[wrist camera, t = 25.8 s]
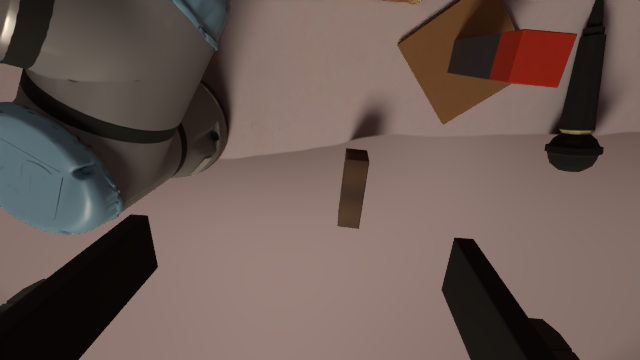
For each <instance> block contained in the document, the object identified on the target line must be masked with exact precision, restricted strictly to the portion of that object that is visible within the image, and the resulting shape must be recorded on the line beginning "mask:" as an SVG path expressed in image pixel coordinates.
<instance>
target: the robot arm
mask: <svg viewBox="0 0 640 360" xmlns="http://www.w3.org/2000/svg"><path fill="white" fill-rule="evenodd" d="M229 13H230V1H229V0H0V62H1V63H5V64H9V65H12V66H16V67H20V68H23V71H22V75H21V80H20V83H19V87H18V92H17V96H16V98H15V100H14V101H13V102H0V207H2V208H3V209H4V210H5V211H7V212H8V213H10V214H11V215H13V216H14V217H16V218H17V219H19V220H21V221H23V222H24V223H26V224H28V225H31V226H33V227H35V228H37V229H40V230H43V231H46V232H51V233H55V234H67V235H68V234H72V233H74V234H75V233H76V234H81V233H85V232H88V231H90V230H93V229H95V228H96V227H98V226H100V225H102V224H104V223H106V222H108V221H111V220H113V219H115V218H116V217H118V216H119V214H120V213H121V212H123V211H124V210H126V209H127V208H128V207H130V206H131V205H133V204H134V203H136V202H137V201H138V200H140V199H141V198H143V197H144V196H145V195H147V194H148V193H150V192H151V191H152V190H154V189H155V188H157V187H158V186H160V185H161V184H163V183H164V182H165V181H167V180H168V179H170V178H177V177H186V176H191V175H195V174H198V173H200V172H202V171H204V170H205V169H207V168H209V167H210V166H211V165H212V164H213V163H215V162H216V161H217V160H218V159H219V157H220V156H221V154H222V153H223V151H224V149H225V146H226V143H227V138H228V123H227V117H226V114H225V111H224V108H223V106H222V104H221V102H220V100H219V99H218V97H217V96H216V94H215V93H214V92H213V90H212V89H211V88H210V87H209V86H208V85H207V84H206V83H205V82H203V81H202V80H201V78H202V76H203V74H204V72H205V70H206V68H207V66H208V64H209V61H210V59H211V57H212V55H213V53H214V51H217V50H218V48H219V45H218V41H219V39H220V36H221V34H222V31H223V29H224V26H225V24H226V22H227V19H228V17H229ZM157 267H158V265H157V260H156V255H155V250H154V245H153V240H152V235H151V230H150V225H149V220H148V216H145V215H129V216H128V217H127V218H125V219H124V220H123V221H121V222H120V223H119V224H118V225H116V226H115V227H114V228H112V229H111V230H110V231H108V232H107V233H106V234H105V235H103V236H102V237H101V238H99V239H98V240H97V241H95V242H94V243H93V244H91V245H90V246H89V247H88V248H86V249H85V250H84V251H82V252H81V253H80V254H78V255H77V256H76V257H74V258H73V259H72V260H71V261H69V262H68V263H67V264H65V265H64V266H63V267H62V268H60V269H59V270H58V271H56V272H55V273H54V274H53V275H51V276H50V277H48V278H47V279H42V280H40V281H38V282H36V283H34V284H32V285H30V286H28V287H26V288H24V289H23V290H21V291H20V292H19V293H17V294H16V295H14V296H13V297H12V298H10V299H9V300H8V301H7V303H6V304H2V305H1V306H0V360H79V359H80V357H81V356H82V355H83V354H84V353H85V352H86V350H87V349H88V348H89V347H90V346H91V345H92V343H93V342H94V341H95V340H96V339H97V337H98V336H99V335H100V334H101V333H102V332H103V331H104V329H105V328H106V327H107V326H108V325H109V324H110V322H111V321H112V320H113V319H114V318H115V317H116V315H117V314H118V313H119V312H120V311H121V309H122V308H123V307H124V306H125V305H126V304H127V302H128V301H129V300H130V299H131V298H132V297H133V296H134V294H135V293H136V292H137V291H138V290H139V289H140V287H141V286H142V285H143V284H144V283H145V282H146V280H147V279H148V278H149V277H150V276H151V275H152V273H153V272H154V271H155V270H156V269H157ZM442 292H443V294H444V297H445V299H446V302H447V304H448V306H449V309H450V311H451V314H452V316H453V318H454V321H455V323H456V326H457V328H458V330H459V333H460V335H461V338H462V340H463V342H464V345H465V347H466V349H467V352H468V354H469V357H470V359H471V360H579V358H578V357H577V356H576V354H575V353H574V352H572V349H571V348H570V346H569V345H568V344H567V343H566V341H565V340H564V339H563V337H562V336H561V335H560V334H559V333H558V332H557V331H556V330H555V329H554V328H552V327H551V326H550V325H549V324H547V323H546V322H545V321H544V320H543V319H534V318H528V317H527V315H526V314H525V312H524V311H523V310H522V308H521V307H520V305H519V304H518V302H517V301H516V300H515V298H514V297H513V295H512V294H511V292H510V291H509V290H508V288H507V287H506V285H505V284H504V282H503V281H502V280H501V278H500V277H499V275H498V274H497V272H496V271H495V270H494V268H493V267H492V265H491V264H490V262H489V261H488V259H487V258H486V257H485V255H484V254H483V252H482V251H481V250H480V248H479V247H478V245H477V244H476V242H475V241H474V240H473V239H465V238H454V241H453V245H452V250H451V254H450V258H449V262H448V266H447V270H446V274H445V278H444V282H443V286H442Z"/></svg>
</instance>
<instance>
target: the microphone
mask: <svg viewBox="0 0 640 360" xmlns="http://www.w3.org/2000/svg"><path fill="white" fill-rule="evenodd" d="M603 17H604V0H596V1H595V4H594V7H593V10H592V12H591V15H590V18H589V22H588V27H587V28H586V29H584V30H583V36H582V37H581V38H580V41H579V45H578V49H577V53H576V58H575V62H574V66H573V70H572V75H571V79H570V83H569V87H568V92H567V96H566V100H565V104H564V109H563V113H562V117H561V121H560V126H559V130H560V131H561V134H559V135H557V136H556V137H554V138H553V139H552V140H551V142H550V143H549V144H546V145H545V151H547V154H548V159H549V162H550V163H551V164H552V165H553V166H554V167H556V168H557V169H558V170H563V171H569V172H580V171H583V170H585V169H587V168H589V167H591V166H593V164H594V163H595V161H596V160H597V158H598V156H599V155H602V154H603V147H600V145H599V143H598V140H597V139H595V138H594V137H593V136H592V135H591V133H592V132H593V131H594V130H595V125H596V117H597V109H598V100H599V92H600V84H601V75H602V67H603V59H604V50H605V42H606V34H604V33H605V27H604V26H602V25H603Z"/></svg>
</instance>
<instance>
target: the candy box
mask: <svg viewBox="0 0 640 360" xmlns="http://www.w3.org/2000/svg"><path fill="white" fill-rule="evenodd" d="M383 1H390V2H398V3H406V4H413V5H417V4H418V3H419V2H420V1H422V0H383Z"/></svg>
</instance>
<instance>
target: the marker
mask: <svg viewBox="0 0 640 360" xmlns="http://www.w3.org/2000/svg"><path fill="white" fill-rule="evenodd" d="M576 36H577V34H574V33H563V32H552V31H540V30H529V29H523V30H516V31H510V32H503V33H496V34H490V35H483V36H477V37H471V38H464V39H458V40H455V41H454V45H453V50H452V54H451V58H450V63H449V67H448V71H447V73H451V74H457V75H463V76H469V77H475V78H481V79H487V80H493V81H499V82H505V83H513V84H524V85H534V86H544V87H555V88H557V87H558V85H559V82H560V80H561V77H562V74H563V71H564V69H565V66H566V63H567V60H568V58H569V55H570V52H571V50H572V47H573V44H574V41H575V39H576Z"/></svg>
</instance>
